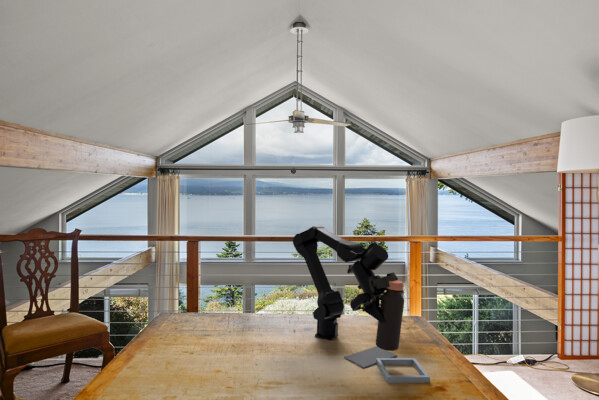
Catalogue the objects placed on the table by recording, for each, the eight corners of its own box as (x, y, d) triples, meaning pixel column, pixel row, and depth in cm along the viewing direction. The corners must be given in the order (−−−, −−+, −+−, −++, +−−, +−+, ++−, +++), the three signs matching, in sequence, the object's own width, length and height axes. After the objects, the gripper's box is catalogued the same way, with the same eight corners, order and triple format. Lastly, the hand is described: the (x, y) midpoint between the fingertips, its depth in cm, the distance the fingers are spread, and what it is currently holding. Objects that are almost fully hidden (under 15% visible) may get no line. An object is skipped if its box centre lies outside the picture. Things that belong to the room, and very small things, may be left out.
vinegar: (381, 340, 131) (388, 276, 130) (401, 347, 127) (410, 282, 126) (371, 346, 126) (379, 280, 124) (392, 353, 122) (401, 285, 121)
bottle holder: (387, 382, 116) (387, 377, 115) (375, 363, 127) (376, 358, 127) (429, 382, 116) (430, 377, 116) (414, 362, 128) (414, 358, 128)
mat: (344, 357, 130) (344, 356, 130) (377, 347, 139) (377, 345, 139) (363, 368, 124) (363, 367, 124) (397, 356, 133) (397, 355, 133)
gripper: (359, 267, 122) (386, 316, 114) (401, 261, 133) (428, 305, 125) (339, 287, 129) (363, 334, 121) (380, 279, 140) (405, 322, 132)
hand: (391, 323), depth 125 cm, fingers closed on vinegar, 4 cm apart
